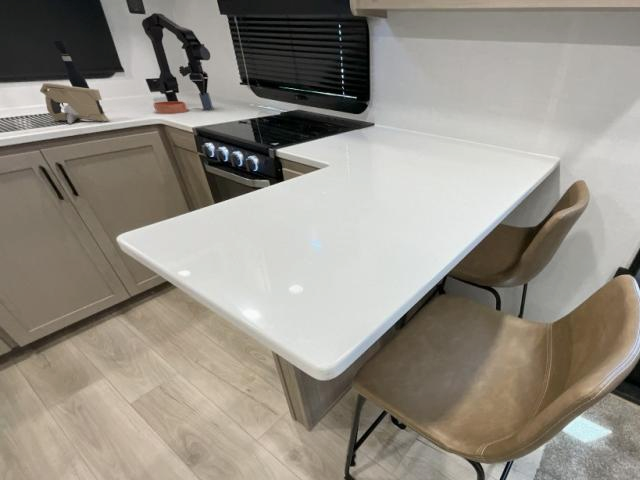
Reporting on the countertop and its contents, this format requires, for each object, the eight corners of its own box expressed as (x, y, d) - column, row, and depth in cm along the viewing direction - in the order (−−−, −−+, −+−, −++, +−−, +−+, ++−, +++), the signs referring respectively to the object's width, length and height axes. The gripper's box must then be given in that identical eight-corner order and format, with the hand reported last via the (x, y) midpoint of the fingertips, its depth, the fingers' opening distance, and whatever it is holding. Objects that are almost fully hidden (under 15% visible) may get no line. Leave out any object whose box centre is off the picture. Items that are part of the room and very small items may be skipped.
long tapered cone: (80, 113, 149) (77, 103, 159) (62, 116, 146) (61, 105, 157) (88, 126, 153) (85, 115, 163) (72, 129, 150) (70, 118, 161)
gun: (51, 120, 153) (33, 82, 144) (57, 119, 155) (39, 81, 146) (107, 126, 155) (93, 89, 146) (112, 125, 158) (98, 89, 149)
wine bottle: (83, 113, 171) (45, 40, 152) (96, 111, 175) (61, 40, 157) (91, 114, 169) (54, 40, 150) (104, 112, 173) (70, 41, 155)
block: (205, 109, 189) (200, 92, 184) (213, 108, 190) (208, 92, 185) (203, 110, 186) (198, 93, 181) (212, 109, 187) (207, 93, 182)
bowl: (160, 109, 185) (157, 101, 182) (190, 109, 188) (187, 100, 186) (152, 114, 173) (149, 105, 171) (184, 113, 177) (181, 104, 174)
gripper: (181, 59, 179) (191, 92, 188) (172, 60, 165) (184, 96, 174) (203, 59, 181) (212, 92, 191) (197, 60, 167) (207, 96, 177)
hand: (204, 94), depth 183 cm, fingers open, 9 cm apart
